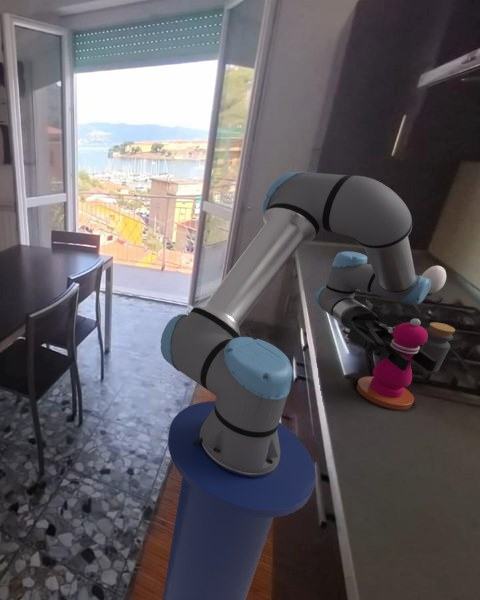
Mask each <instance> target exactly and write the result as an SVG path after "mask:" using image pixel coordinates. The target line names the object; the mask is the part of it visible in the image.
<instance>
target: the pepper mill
mask: <svg viewBox="0 0 480 600" xmlns="http://www.w3.org/2000/svg"><path fill="white" fill-rule="evenodd" d="M421 323H422V322H421V320H420V319H419V318H412V319H410V321H409V322H402V323H399V324H396V325H397V326H396V327H395V328H394V330H393V333H392V335H393V337H394V339H393V340H392V343H390V344H389V345H390V346H392V347H393V348H394V349H396V350H397V351H398V352H399V353H401V354H402V355H403V356H405V357H406V358H407V359H409V360H410V361H409V363H408V365H407V368H406V370H401V369H399V368H398V367H397V366H396V365H395V364H393V363H392V362H391V361H390V360H389V359H387V358H385V357H384V359H382V360H380V361H379V362H378V363H376V365H375V366H374V368H373V370H372V375H373V377H374V378H373V379H372V381H371V383H370V386H371V388H372V389H373V390H374V391H376V392H377V393H379V394H381V395H384V396H387V397H391V398H398V397H401V396H402V394H403V392H404V388H406V387H408V386H410V385H411V383H412V380H413V377H412V369H411V360H412V357H413V355H414V354H416V353H418V350H419V349H420V347H419V346H420V345H423V344H424V343H425V342H426V341H427V339H428V333H427V331H426V328H424V327H423V326H421Z"/></svg>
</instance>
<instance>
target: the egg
mask: <svg viewBox="0 0 480 600" xmlns="http://www.w3.org/2000/svg"><path fill="white" fill-rule="evenodd" d="M421 276H422V277H425V278H428V279H430V280H431V287H430V289H429V292H428V294H429V295H430V294H435V293H437V292H439V291H440V290H441V289H443V288H444V285H445V284H446V281H447V272H446V269H445V268H444V267H443V266H441V265H432V266H430V267H429V268H427V269H426V270H425V271H424V272H422V274H421ZM428 294H427V295H428Z"/></svg>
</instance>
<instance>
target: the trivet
mask: <svg viewBox="0 0 480 600" xmlns="http://www.w3.org/2000/svg"><path fill="white" fill-rule="evenodd" d="M373 378H374V376H363V377H360V378H359V379H358V380H357V384H356V390H357V392H358V393H359V394H360V395H361V396H362V397H363V398H365V399H366V400H368V401H369V402H371V403H373V404H375V405H378V406H381V407H382V408H386V409H391V410H396V411H404V410H409V409H410V408H412V407H413V404H414V402H415V397H414V395H413V393H412V392H410V391H409V390H408V389H407V388H406V387H404V392H403V394H402V396H401V397H398V398H391V397H387V396H384V395H381V394H379V393H377V392H376V391H374V390H373V389H372V388H371V386H370V383H371V381H372V379H373Z"/></svg>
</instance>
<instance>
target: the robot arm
mask: <svg viewBox="0 0 480 600" xmlns="http://www.w3.org/2000/svg"><path fill="white" fill-rule="evenodd" d="M265 196H266V198H264V200H263V204H262V212H263V213H262V214H263V216H262V220H263V223H264V224H263V226H262V227H261V229H260V230H259V232H258V233H257V234H256V235H255V237H254V238H253V239H252V241H251V242H250V243H249V244H248V246H247V247H246V249H245V250H244V252H242V254H241V255H240V257H238V259H237V260H236V262H235V263H234V265H233V266H232V267H231V269H230V270H229V271H228V273H227V274H226V275H225V277H223V279H222V281H221V282H220V283H219V285H218V286H217V287H216V289H215V290H214V291H213V293H212V294H211V295H210V296H209V298H208V299H207V301H206V302H205V303H204V304H202V305H195V306H194V307H193V308H192V309H191V310H190V312H189V313H188V314H186V313H180V314H177V315H174V316H173V317H172V318H171V319H169V321H168V322H167V323H166V325H165V327H164V329H163V331H162V334H161V338H160V352H161V353H160V354H161V355H162V357H163V359H164V360H165V361H166V362H167V363H168V364H169V365H170V366H172V367H173V368H174V369H175V370H176V371H177V372H181V373H182V374H183V375H185V376H186V377H188V378H189V379H190V380H192V381H194V382H195V383H197V385H200V386H201V387H203V388H204V389H206V390H207V391H209V392H210V393H211V394H213V395H214V396H215V400H214V401H215V407H214V409H213V410H212V412H211V413H210V414H209V416H208V417H207V419H206V420H205V421H204V423H203V425H202V427H201V430H200V436H199V439H198V440H196V441H194V442H193V444H194V446H195V445H198V444H200V445H201V448H202V450H203V452H204V453H205V455H206V456H207V457H208V458H209V459H210V460H211V461H212V462H213V463H214V464H215V465H217V466H218V467H220V468H221V469H223V470H224V471H226V472H228V473H231V474H233V475H236V476H240V477H244V478H262V477H266V476H268V475H270V474H272V473H273V472H274V471H275V470H276V468H277V466H278V463H279V460H280V445H279V438H278V432H277V428H278V424H279V422H280V420H281V418H282V415H283V413H284V408H285V407H286V406H285V405H286V402H287V399H288V396H289V394H290V392H291V388H292V380H293V374H294V371H293V369H294V368H293V366H292V364H291V361H290V359H289V357H288V356H287V355H286V354H285V353H284V352H283V351H282V350H281V349H280V348H278V347H277V346H275V345H273V344H271V343H270V342H267V341H265V340H262V339H260V338H256V339H254V338H253V337H250V336H241V331H240V327H241V325H242V324H243V323H244V321H245V320H246V319H247V317H248V316H249V314H250V313H251V312H252V311H253V309H254V307H256V305H257V304H258V303H259V301H260V299H261V298H262V297H263V296H264V294H265V293H266V291H267V290H268V289H269V287H271V285H272V283H274V282H273V281H275V280H276V278H277V276H278V275H279V274H280V273H281V271H282V270H283V269H284V267H285V266H286V264H287V263H288V262H289V261H290V259H291V257H293V255H294V253H295V252H296V251H297V250H298V248H299V247H300V246H301V244H306V243H310V242H312V241H314V239H315V238H316V236H317V235H318V234H319V232H320V231H322V232H330V233H335V234H340V235H344V236H348V237H352V238H354V240H355V242H357V244H358V245H360V246H361V247H363V249H364V251H365V253H366V254H363V253H360V252H356V251H347V250H345V251H339V252H338V253H337V254H336V255H335V258H334V260H333V262H332V264H331V268H330V271H329V274H328V279H327V281H326V285H324V286H322V287H320V288H319V289H318V291H317V292H315V296H314V300H315V302H316V304H317V305H318V306H319V307H320V309H321V310H322V311H324V312H325V313H327V314H329V315H330V316H331V317H332V318H333V320H336V321H337V322H338V323H339V324H340V325H341V326H342V327H343V330H342V333H343V334H345V335H347V336H349V337H350V338H351V339H352V340H354V342H356V343H357V344H358V345H359V346H360V347H361V348H363V350H365V351H367V352H372V351H374V353H373V355H374V356H376V357H380V356H382V357H384V359H385V358H387V359H389V360H390V361H391V362H392V363H393V364H395V365H396V366H397V367H398V368H399V369H401V370H406V368H407V365H408V363H409V361H410V360H409V359H407V358H406V357H405V356H403V355H402V354H401V353H399V352H398V351H397V350H396V349H394V348H393V347H392V346H391V345H390V344H391V343H392V340H393V339H394V337H393V335H392V333H393V330H394V328H395V327H396V326H397V325H398V324H395V325H393V327H392V326H388V325H387V324H385V323H383V322H381V320H380V318H379V316H378V315H377V314H376V312H374V311H372V310H371V309H370V308H368V307H367V306H366V305H364V304H362V303H361V302H359V301H358V300H357V299H355V298H354V297H355V295H356V292H357V290H360V291H362V292H366V293H369V294H373V295H376V296H380V297H383V298H387V299H389V300H392V301H396V302H399V303H404V304H408V305H411V306H412V305H413V306H417V305H420V304H421V303H422V302H423V301H424V300H425V298H426V297H427V295H428V292H429V289H430V287H431V280H430V279H428V278H425V277H422V275H417V274H416V271H415V266H414V260H413V255H412V249H411V245H410V240H409V235H410V234H411V232H412V229H413V218H412V214H411V212H410V210H409V208H408V206H407V204H406V203H405V201H403V199H402V198H401V197H400V196H399V195H398V194H397V193H396V192H395V191H393V190H392V189H391V187H388V186H387V185H385V184H384V183H382V182H380V181H378V180H376V179H374V178H371V177H367V176H363V175H350V174H349V175H348V174H333V173H321V172H320V173H319V172H311V171H308V170H306V171H292V172H290V171H289V172H287V173H285V174H283V175H281V176H280V177H278V178H277V179H275V180H274V182H273V183H272V184H271V186H270V187H269V188H268V190H267V192H266V194H265ZM368 260H369V263H368ZM385 342H387V343H390V344H385ZM423 346H424V344H423V345H420V346H419V347H420V349H419V350H418V353H416V354H414V355H413V357H412V359H413V360H414V361H416V362H417V363H418V364H419V365H421V366H422V367H423V368H425V369H426V370H427V371H431V372H432V371H433V369H434V367H435V365H436V363H437V361H436V360H434V359H433V358H432V357H430V356H429V355H428V354H426V353H425V352H423V351H422V348H423ZM280 423H281V422H280Z"/></svg>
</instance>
